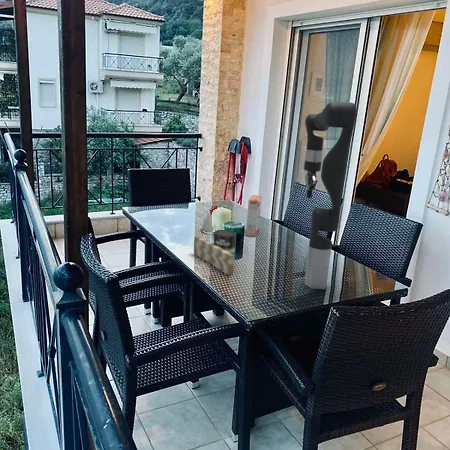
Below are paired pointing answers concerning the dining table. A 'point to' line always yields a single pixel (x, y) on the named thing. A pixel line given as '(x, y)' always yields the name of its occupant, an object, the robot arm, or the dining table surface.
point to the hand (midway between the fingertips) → (308, 197)
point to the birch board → (214, 255)
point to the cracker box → (253, 215)
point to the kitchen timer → (208, 221)
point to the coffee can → (225, 240)
